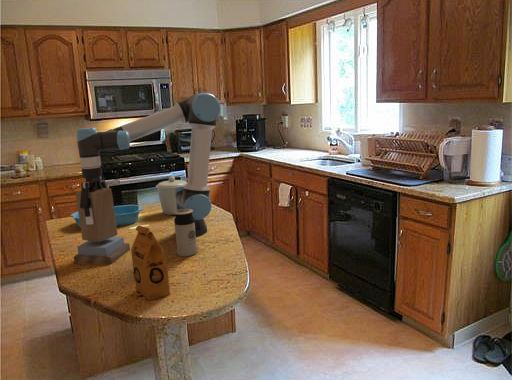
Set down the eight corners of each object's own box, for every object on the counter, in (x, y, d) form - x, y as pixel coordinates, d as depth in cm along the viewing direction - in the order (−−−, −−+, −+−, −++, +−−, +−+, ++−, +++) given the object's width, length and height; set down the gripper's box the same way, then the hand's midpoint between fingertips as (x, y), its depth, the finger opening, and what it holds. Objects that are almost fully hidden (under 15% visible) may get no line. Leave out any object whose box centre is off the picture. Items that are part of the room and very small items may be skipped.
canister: (181, 207, 252) (177, 172, 247) (197, 212, 238) (193, 175, 233) (153, 213, 240) (149, 177, 236) (168, 219, 227) (164, 180, 222)
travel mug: (173, 253, 173) (169, 211, 170) (190, 248, 178) (186, 207, 175) (183, 258, 167) (179, 214, 164) (200, 253, 172) (197, 210, 169)
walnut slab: (130, 251, 181) (129, 243, 180) (112, 265, 166) (111, 256, 165) (95, 250, 184) (94, 243, 183) (74, 264, 168) (73, 256, 168)
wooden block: (101, 232, 180) (94, 187, 176) (118, 235, 175) (111, 188, 171) (81, 240, 171) (74, 192, 167) (98, 242, 166) (91, 193, 162)
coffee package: (144, 304, 130) (136, 236, 126) (132, 290, 141) (124, 227, 136) (174, 294, 135) (168, 229, 131) (161, 282, 146) (154, 221, 141)
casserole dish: (145, 214, 241) (143, 202, 239) (144, 224, 219) (142, 211, 218) (76, 221, 232) (74, 209, 231) (68, 233, 211) (66, 219, 210)
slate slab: (124, 244, 179) (123, 237, 178) (107, 256, 166) (106, 247, 166) (97, 244, 182) (96, 236, 181) (78, 254, 169) (77, 246, 168)
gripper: (98, 162, 179) (104, 211, 184) (64, 172, 156) (73, 228, 160) (114, 162, 178) (120, 211, 182) (83, 172, 155) (91, 228, 159)
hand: (98, 219), depth 171 cm, fingers open, 12 cm apart
